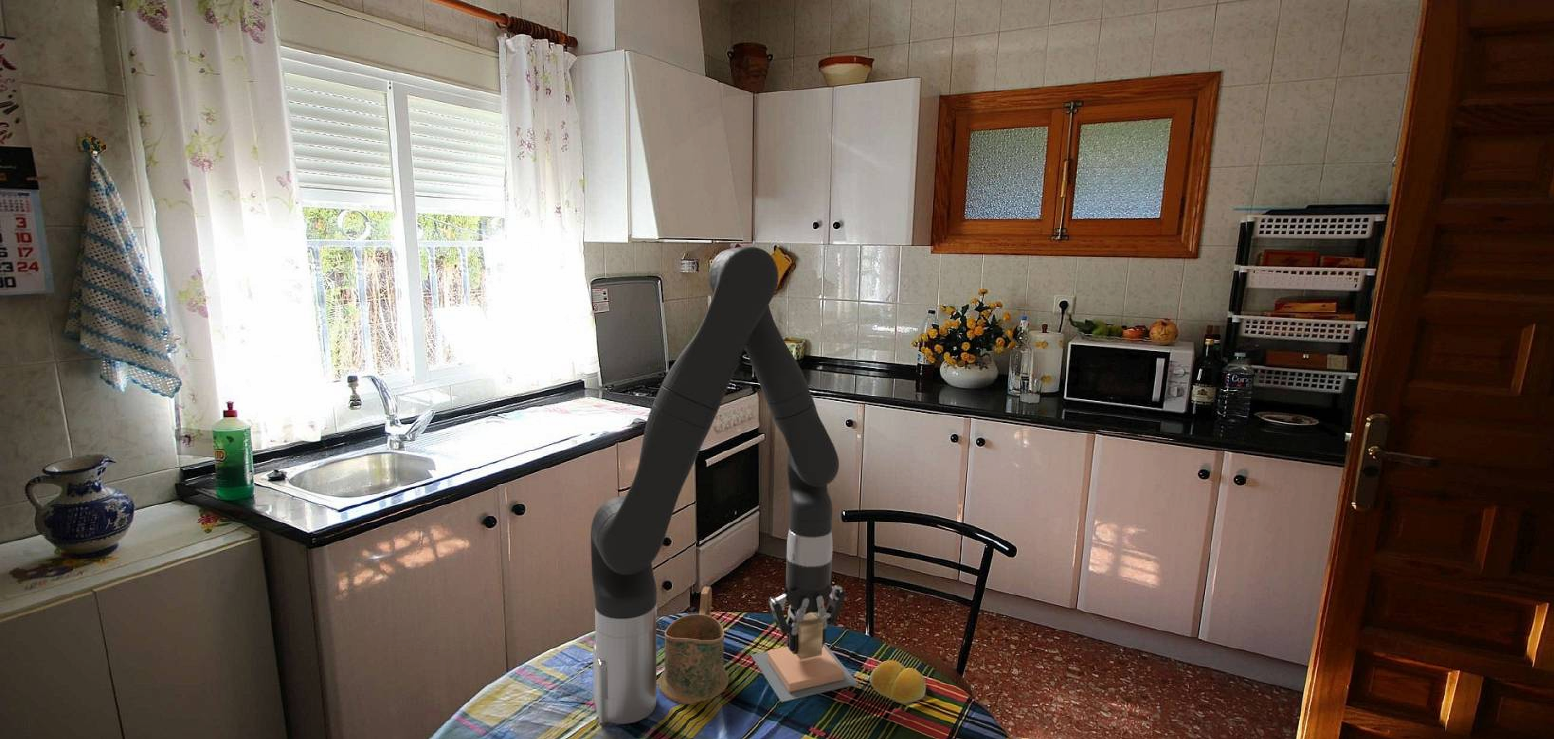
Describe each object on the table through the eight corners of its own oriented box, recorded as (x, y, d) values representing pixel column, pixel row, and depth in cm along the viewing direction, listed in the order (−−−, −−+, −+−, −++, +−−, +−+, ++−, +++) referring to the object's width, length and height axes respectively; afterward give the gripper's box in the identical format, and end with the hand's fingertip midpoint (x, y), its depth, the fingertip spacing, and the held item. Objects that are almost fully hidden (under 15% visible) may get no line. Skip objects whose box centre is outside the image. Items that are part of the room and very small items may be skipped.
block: (800, 659, 118) (801, 626, 117) (790, 647, 122) (791, 614, 121) (821, 655, 120) (823, 622, 119) (811, 642, 124) (812, 610, 123)
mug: (739, 645, 129) (740, 584, 127) (722, 707, 112) (723, 637, 110) (676, 640, 130) (677, 579, 128) (650, 700, 113) (650, 631, 111)
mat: (781, 704, 113) (781, 701, 113) (750, 656, 126) (750, 654, 126) (858, 685, 118) (858, 683, 118) (821, 642, 131) (821, 640, 131)
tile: (766, 659, 124) (789, 693, 115) (766, 650, 124) (789, 683, 115) (817, 649, 128) (843, 680, 119) (818, 640, 128) (844, 671, 119)
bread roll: (912, 713, 112) (914, 690, 112) (863, 690, 118) (864, 668, 117) (934, 688, 119) (936, 666, 118) (886, 668, 124) (888, 647, 123)
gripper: (837, 539, 124) (833, 630, 127) (761, 551, 119) (758, 645, 122) (858, 557, 117) (853, 652, 120) (778, 570, 112) (775, 669, 115)
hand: (805, 648), depth 121 cm, fingers closed on block, 4 cm apart
